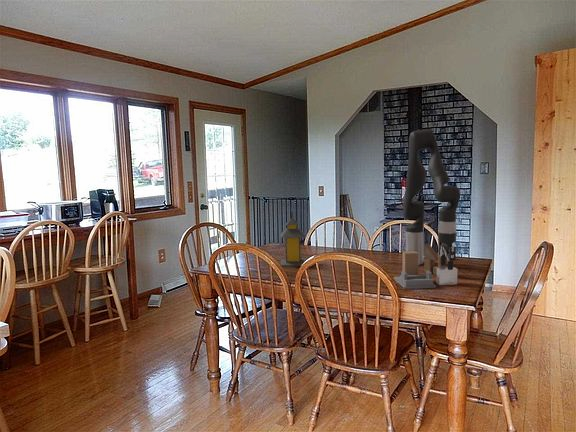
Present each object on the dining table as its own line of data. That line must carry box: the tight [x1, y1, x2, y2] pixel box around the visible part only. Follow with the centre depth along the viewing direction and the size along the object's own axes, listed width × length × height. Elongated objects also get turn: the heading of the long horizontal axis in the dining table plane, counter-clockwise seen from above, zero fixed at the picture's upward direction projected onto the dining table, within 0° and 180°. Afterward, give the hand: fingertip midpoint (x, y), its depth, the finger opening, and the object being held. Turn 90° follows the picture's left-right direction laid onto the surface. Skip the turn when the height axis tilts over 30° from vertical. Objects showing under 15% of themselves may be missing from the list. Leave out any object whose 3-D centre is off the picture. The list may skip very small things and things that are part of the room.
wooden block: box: [423, 241, 447, 276], centre depth 214 cm, size 4×11×18 cm, turn 37°
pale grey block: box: [436, 266, 458, 286], centre depth 198 cm, size 4×8×7 cm, turn 91°
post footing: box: [393, 250, 437, 290], centre depth 200 cm, size 17×14×13 cm
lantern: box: [279, 209, 307, 267], centre depth 245 cm, size 14×14×30 cm
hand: (446, 267), depth 197 cm, fingers open, 8 cm apart
